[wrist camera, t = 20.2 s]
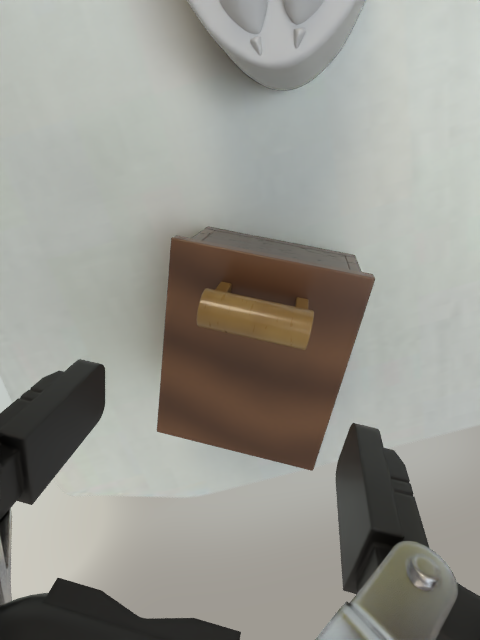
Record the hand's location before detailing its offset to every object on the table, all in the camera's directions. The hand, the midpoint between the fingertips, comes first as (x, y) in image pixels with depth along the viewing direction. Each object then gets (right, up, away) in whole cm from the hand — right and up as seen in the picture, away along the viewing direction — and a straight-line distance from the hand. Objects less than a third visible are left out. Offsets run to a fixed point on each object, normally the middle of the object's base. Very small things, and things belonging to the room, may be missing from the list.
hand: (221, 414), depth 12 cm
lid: (+1, 0, +13) cm, 13 cm away
